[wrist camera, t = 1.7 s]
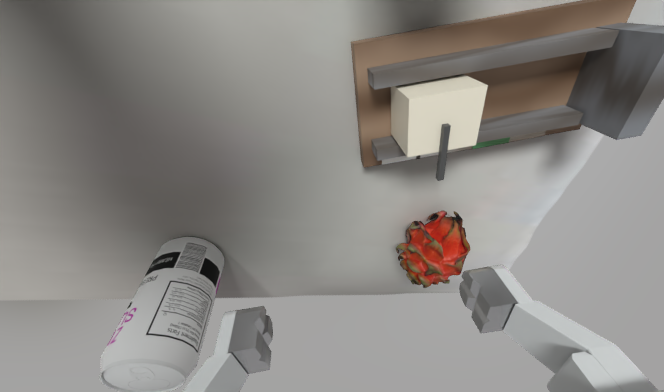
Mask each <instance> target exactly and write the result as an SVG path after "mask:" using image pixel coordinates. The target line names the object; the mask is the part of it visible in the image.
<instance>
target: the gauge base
mask: <svg viewBox="0 0 664 392" xmlns="http://www.w3.org/2000/svg"><path fill="white" fill-rule="evenodd" d="M635 2H636V0H582V1H576V2H571V3H565V4H560V5H554V6H549V7H543V8H537V9H532V10H526V11H521V12H515V13H510V14H504V15H498V16H493V17H487V18H482V19H476V20H471V21H465V22H459V23H454V24H448V25H443V26H437V27H431V28H426V29H420V30H415V31H409V32H404V33H398V34H392V35H387V36H381V37H376V38H370V39H365V40H359V41H353V42H351V48H352V59H353V71H354V82H355V94H356V105H357V117H358V128H359V140H360V151H361V161H362V164H363V166H364V167H370V166H375V165H381V164H382V165H384V164H389V163H395V162H401V161H406V160H412V159H420V158H423V157H429V156H434V155H438V154H439V152H435V153H430V154H424V155H418V156H413V157H407V156H406V155H405V153H404V152H403V150H402V149H401V147H400V146H399V145H398V143H397V142H396V140H395V139H394V137H393V136H392V134H391V87H392V86H398V85H403V84H409V83H415V82H420V81H426V80H431V79H437V78H443V77H448V76H454V75H459V74H464V75H467V76H469V77H471V78H473V79H475V80H477V81H480V82H482V83H484V84H486V85H488V87H487V92H486V97H485V102H484V107H483V112H482V117H481V122H480V127H479V132H478V137H477V142H476V145H474V146H469V147H463V148H457V149H452V150H447V153H451V152H457V151H462V150H468V149H476V148H481V147H487V146H492V145H498V144H504V143H509V142H512V141H518V140H524V139H529V138H535V137H540V136H544V135H549V134H554V133H560V132H566V131H571V130H577V129H580V127H581V124H582V125H584V126H586V127H589V128H591V129H593V130H595V131H598V132H600V133H602V134H604V135H607V136H609V137H611V138H613V139H616V140H619V139H624V138H630V137H636V136H641V135H642V133H643V132H644V130H645V128H646V127H647V125H648V123H649V122H650V120H651V118H652V117H653V115H654V113H655V112H656V110H657V108H658V107H659V105H660V103H661V101H662V100H663V98H664V26H659V25H646V24H633V23H626V22H627V20H628V18H629V16H630V13H631V11H632V9H633V7H634V4H635Z"/></svg>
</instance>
